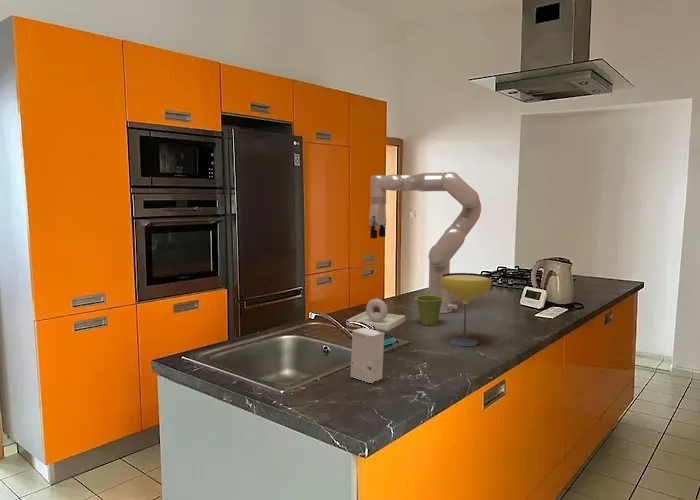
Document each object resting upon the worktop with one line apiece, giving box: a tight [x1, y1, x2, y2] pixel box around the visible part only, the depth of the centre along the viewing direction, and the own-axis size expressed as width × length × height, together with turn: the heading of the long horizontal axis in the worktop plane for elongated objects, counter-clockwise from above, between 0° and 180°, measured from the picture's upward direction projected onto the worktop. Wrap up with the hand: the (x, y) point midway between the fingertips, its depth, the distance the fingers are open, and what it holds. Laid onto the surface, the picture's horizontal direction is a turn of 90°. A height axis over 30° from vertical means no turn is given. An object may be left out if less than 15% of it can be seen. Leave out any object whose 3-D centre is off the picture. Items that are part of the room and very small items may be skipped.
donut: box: [365, 298, 389, 322], centre depth 224 cm, size 10×3×10 cm, turn 62°
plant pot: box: [414, 294, 443, 327], centre depth 223 cm, size 12×12×11 cm
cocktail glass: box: [441, 272, 492, 347], centre depth 194 cm, size 18×18×25 cm
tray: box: [345, 310, 406, 332], centre depth 224 cm, size 19×19×2 cm
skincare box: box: [350, 328, 385, 384], centre depth 157 cm, size 8×6×15 cm
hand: (378, 237), depth 251 cm, fingers open, 9 cm apart
